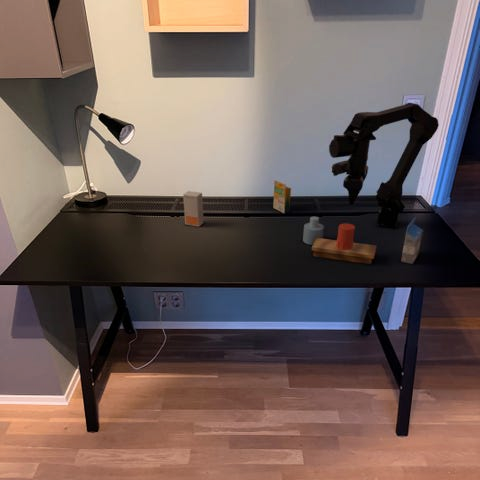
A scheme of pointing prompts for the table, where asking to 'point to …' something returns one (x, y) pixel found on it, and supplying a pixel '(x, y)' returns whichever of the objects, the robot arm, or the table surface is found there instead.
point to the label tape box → (412, 243)
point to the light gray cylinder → (312, 231)
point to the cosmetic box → (193, 208)
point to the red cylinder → (345, 236)
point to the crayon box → (281, 197)
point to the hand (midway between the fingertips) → (352, 199)
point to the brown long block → (344, 251)
